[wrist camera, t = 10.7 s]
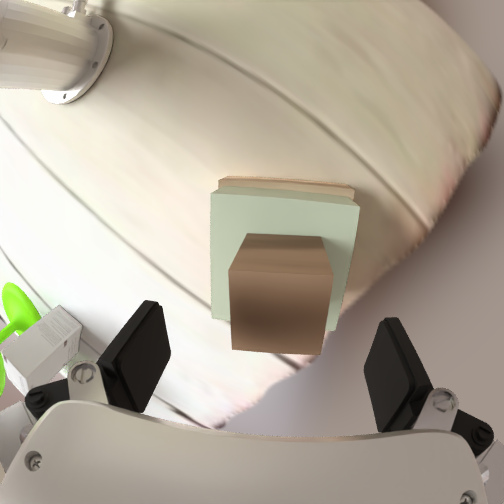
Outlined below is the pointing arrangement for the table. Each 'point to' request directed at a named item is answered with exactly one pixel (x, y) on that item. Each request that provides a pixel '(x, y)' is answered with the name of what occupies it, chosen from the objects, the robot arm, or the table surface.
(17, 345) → the skincare box
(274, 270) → the walnut block
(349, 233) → the block top
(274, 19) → the table surface
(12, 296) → the wineglass
